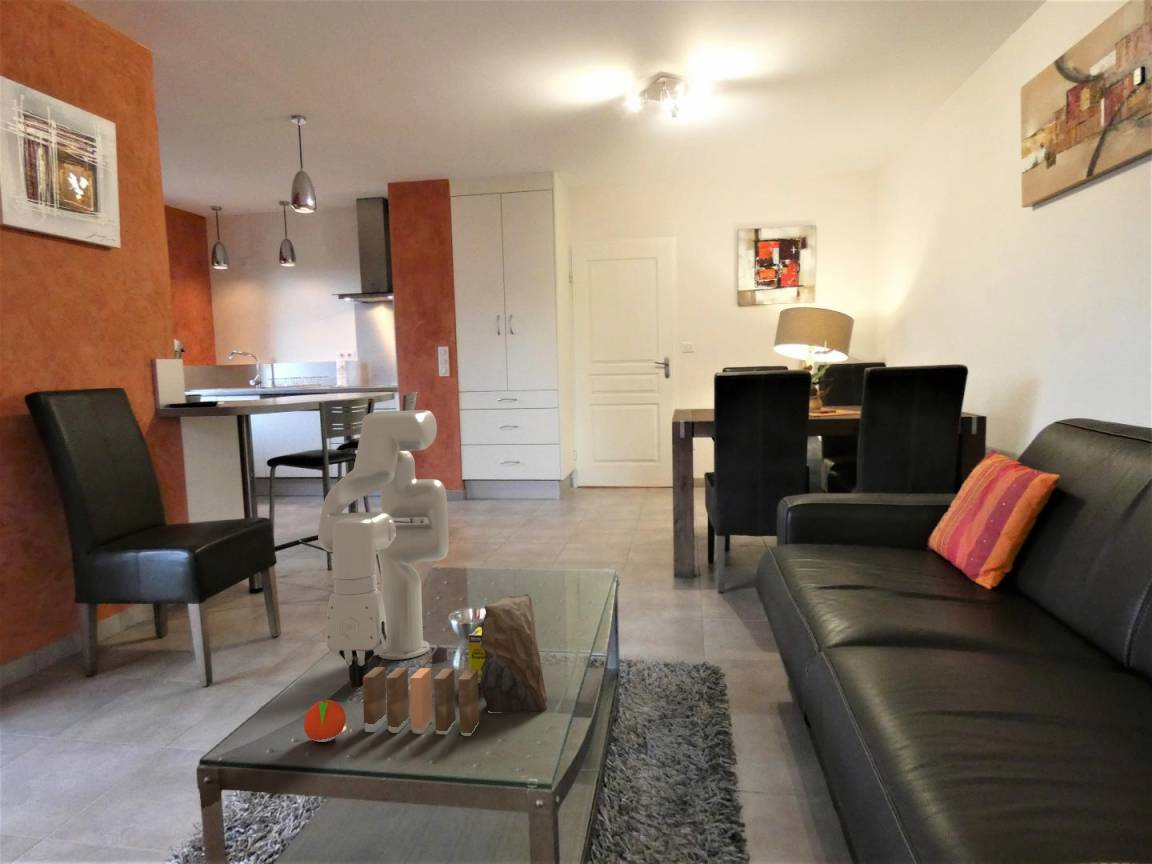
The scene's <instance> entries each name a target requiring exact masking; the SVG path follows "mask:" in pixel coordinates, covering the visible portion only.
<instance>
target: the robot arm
mask: <svg viewBox="0 0 1152 864" xmlns="http://www.w3.org/2000/svg"><path fill="white" fill-rule="evenodd" d="M437 431H438V423H437V419H436V417H435V415H434V413H433V412H432V411H430V410H427V409H424V410H423V409H422V410H421V409H418V410H415V409H413V410H384V411H383V410H382V411H373V412H371V413H368V414H366V415H364V416H363V418H362V420H361V429H360V433H359V434H360V435H359V440H358V444H357V451H356V455H355V460H354V461H355V462H354V466H353V469H352V470H351V471H349V472H347V474H345V475H344V476H343V477H342V478H341V479H340V480H339V481H337V483H336V484H334V486H333V487H332V488H331V489H330V490H329V491H328V493H327V494H326V496H325V499H324V501H323V504H322V509H321V513H320V518H319V522H318V530H317V537H318V542H319V543H318V544H319V545H320V547H321V548H322V549H323V550H324V551H326V552H328V553H329V552H330V553H332V554H333V555H332V556H333V557H332V558H333V560H332V561H333V578H329V579H328V581H327V585H328V587H332V588H333V593H331V594H330V595H329V598H328V599H329V600H328V604H327V611H326V612H327V613H326V623H325V645H326V647H327V648H328V649H329V653H332V654H334V655H339V656H341V658H342V659H343V660H344V661H345V664H346V666H348V678H349V681H350V687H351V688H359V689H360V688H361V687H363V677H364V676H365V675H366V674H367V673H369V661H370V660H371V659H372V658H373V657H374V656H378V655H379V656H378V657H379V658H380V657H381V659H385V660H390V661H391V660H394V661H395V660H406V659H412V658H417V657H419V656H422V655H424V654H427V652H429V650H430V643H429V642H428V641H426V640H424V630H423V628H424V627H423V603H422V600H423V599H422V580H421V576H420V575H419V574H420V573H418V571H417V570H416V569H415V567H414V566H413V565H412V564H413V563H425V562H438V561H443V560H444V559H445V558H446V557H447V555H448V553H449V548H450V544H449V543H450V541H449V539H450V535H449V515H448V514H449V513H448V498H447V490H446V488H445V485H444V483H443V482H442V481H440V480H438V479H433V478H423V479H417V477H416V468H415V466H416V463H415V459H414V456H413V454H412V452H413V451H414V452H415V451H423V450H427V448H429V447H430V446H431V445H433V443H434V441H435V440H436V437H437ZM410 451H411V452H410ZM378 491H380V492H379V495H380V506H381V512H380V511H379V512H378V511H375V512H374V511H371V512H368V511H367V512H362V511H361V512H344V510H345V509H347V507H348V506H349V505H351V504H353V502H355V501H357V500H359V499H361V498H364V497H366V496H368V495H370V494H372V493H375V492H378ZM343 512H344V513H343ZM421 518H422V519H426V520H427V521H428V522H419V523H418V522H417V523H414V522H413V523H412V522H409V523H395V521H394V519H399V520H401V519H421ZM377 556H378V557H377ZM377 559H378V563H379V567H380V568H379V569H380V570H379V571H380V582H381V590H379V589H378V576H377V575H378V573H377V572H378V571H377V569H378V568H377ZM411 563H412V564H411Z"/></svg>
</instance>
